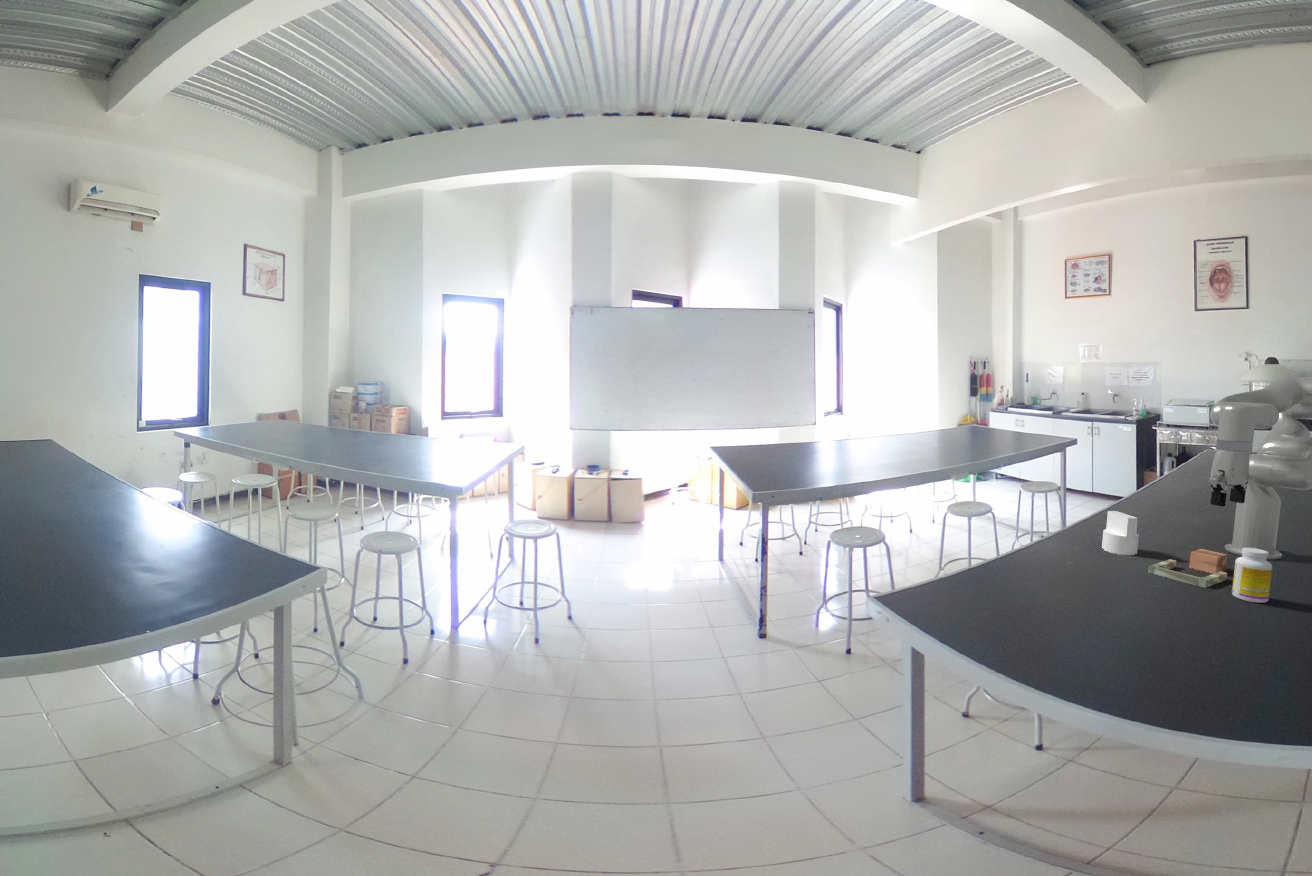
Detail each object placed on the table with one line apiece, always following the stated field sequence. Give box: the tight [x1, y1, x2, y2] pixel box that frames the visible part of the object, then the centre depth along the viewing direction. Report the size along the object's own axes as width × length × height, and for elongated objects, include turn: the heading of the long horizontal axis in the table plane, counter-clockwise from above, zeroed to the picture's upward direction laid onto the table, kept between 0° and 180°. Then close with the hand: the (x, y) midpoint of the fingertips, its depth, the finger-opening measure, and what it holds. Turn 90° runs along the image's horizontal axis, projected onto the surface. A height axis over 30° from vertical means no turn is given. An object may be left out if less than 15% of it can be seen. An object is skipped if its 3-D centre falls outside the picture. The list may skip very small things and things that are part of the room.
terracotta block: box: [1188, 548, 1228, 575], centre depth 169 cm, size 6×6×5 cm
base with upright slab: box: [1101, 510, 1140, 556], centre depth 186 cm, size 9×9×12 cm
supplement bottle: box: [1231, 548, 1273, 604], centre depth 148 cm, size 7×7×13 cm
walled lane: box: [1147, 559, 1228, 588], centre depth 164 cm, size 12×13×2 cm
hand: (1227, 503), depth 171 cm, fingers open, 9 cm apart
